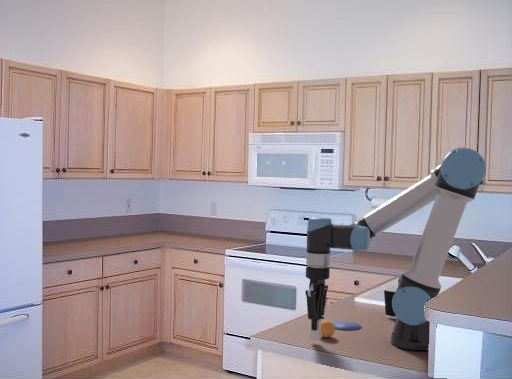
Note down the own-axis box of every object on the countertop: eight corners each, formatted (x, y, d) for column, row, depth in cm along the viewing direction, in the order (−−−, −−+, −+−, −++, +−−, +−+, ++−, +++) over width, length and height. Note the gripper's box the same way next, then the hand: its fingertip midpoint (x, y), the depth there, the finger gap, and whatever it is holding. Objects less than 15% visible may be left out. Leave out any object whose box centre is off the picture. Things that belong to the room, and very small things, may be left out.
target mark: (368, 328, 201) (368, 327, 201) (341, 331, 195) (341, 331, 195) (347, 320, 211) (347, 319, 211) (321, 323, 206) (321, 322, 206)
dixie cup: (377, 316, 219) (378, 287, 219) (391, 313, 224) (392, 286, 223) (393, 320, 213) (394, 291, 212) (407, 318, 217) (408, 289, 217)
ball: (337, 338, 187) (338, 321, 187) (324, 340, 185) (324, 323, 185) (328, 333, 192) (328, 317, 192) (314, 335, 190) (315, 319, 189)
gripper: (315, 262, 187) (312, 332, 188) (298, 267, 176) (295, 342, 177) (336, 264, 184) (334, 336, 184) (320, 269, 172) (318, 346, 173)
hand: (315, 339), depth 180 cm, fingers closed
